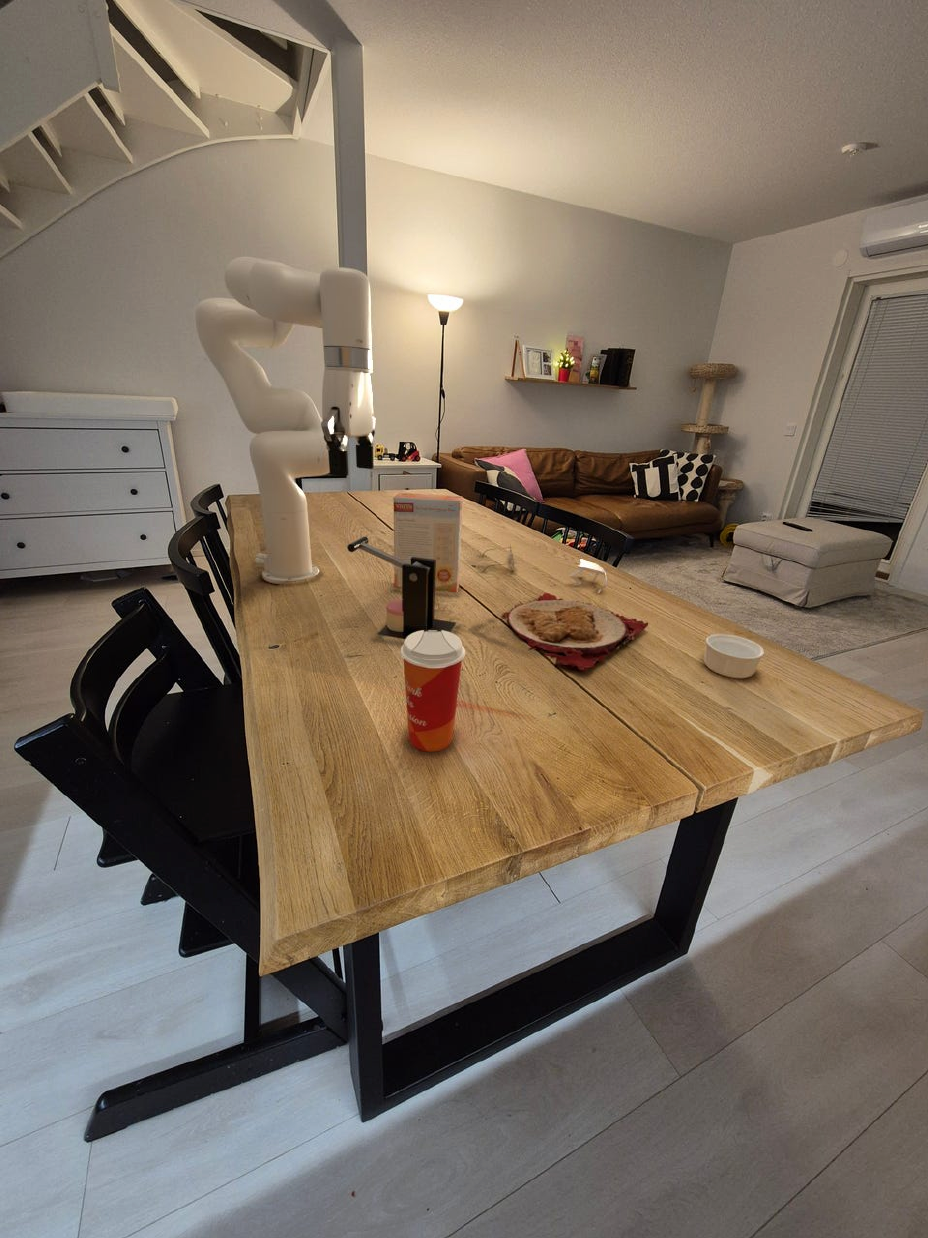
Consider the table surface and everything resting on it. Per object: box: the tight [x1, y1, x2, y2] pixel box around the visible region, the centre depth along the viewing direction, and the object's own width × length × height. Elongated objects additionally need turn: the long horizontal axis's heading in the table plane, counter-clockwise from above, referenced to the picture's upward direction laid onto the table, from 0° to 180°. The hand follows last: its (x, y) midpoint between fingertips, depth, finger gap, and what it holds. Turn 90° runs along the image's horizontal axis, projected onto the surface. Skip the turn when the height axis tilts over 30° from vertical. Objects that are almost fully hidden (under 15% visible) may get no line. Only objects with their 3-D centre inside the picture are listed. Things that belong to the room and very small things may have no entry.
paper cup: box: [400, 630, 466, 753], centre depth 62 cm, size 8×8×14 cm
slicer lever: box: [346, 536, 430, 573], centre depth 88 cm, size 14×6×2 cm, turn 75°
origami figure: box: [568, 558, 608, 594], centre depth 119 cm, size 12×8×5 cm
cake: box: [385, 599, 403, 632], centre depth 92 cm, size 6×6×4 cm
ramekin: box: [703, 633, 765, 679], centre depth 85 cm, size 9×9×4 cm
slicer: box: [377, 557, 458, 640], centre depth 89 cm, size 12×10×14 cm
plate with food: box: [492, 592, 650, 671], centre depth 96 cm, size 24×26×4 cm
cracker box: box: [392, 492, 463, 593], centre depth 109 cm, size 14×6×21 cm, turn 84°
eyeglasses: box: [481, 545, 516, 573], centre depth 131 cm, size 14×8×4 cm, turn 179°
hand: (352, 471), depth 88 cm, fingers open, 9 cm apart
